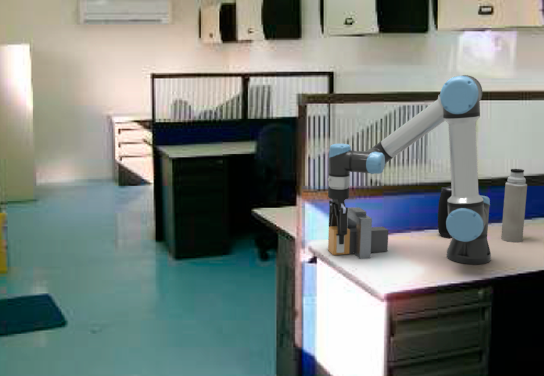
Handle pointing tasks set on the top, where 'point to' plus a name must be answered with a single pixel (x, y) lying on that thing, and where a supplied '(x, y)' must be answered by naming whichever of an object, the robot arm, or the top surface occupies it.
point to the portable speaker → (444, 211)
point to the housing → (360, 231)
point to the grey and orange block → (377, 240)
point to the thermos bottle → (514, 207)
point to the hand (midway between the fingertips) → (337, 249)
